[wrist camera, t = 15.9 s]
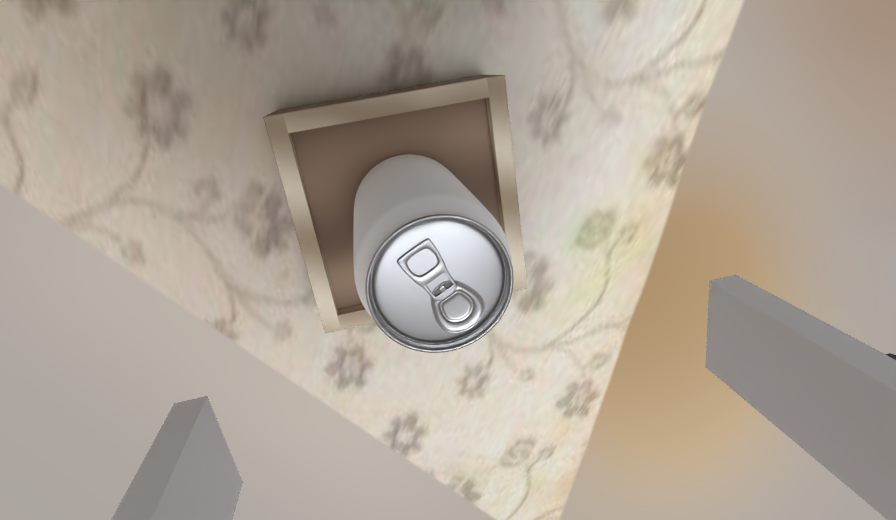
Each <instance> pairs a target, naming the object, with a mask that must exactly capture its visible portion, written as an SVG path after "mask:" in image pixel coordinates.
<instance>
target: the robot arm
mask: <svg viewBox="0 0 896 520" xmlns="http://www.w3.org/2000/svg"><path fill="white" fill-rule="evenodd" d="M706 368H707V369H709V370H710V371H711V372H712V373H713V374H715V375H716V376H717V377H718V378H720V379H721V380H722V381H723V382H724V383H726V384H727V385H728V386H729V387H730V388H731V389H732V390H734V391H735V392H736V393H737V394H738V395H740V396H741V397H742V398H743V399H744V400H746V401H747V402H748V403H749V404H750V405H751V406H753V407H754V408H755V409H756V410H758V411H759V412H760V413H761V414H762V415H763V416H765V417H766V418H767V419H768V420H769V421H771V422H772V423H773V424H774V425H775V426H776V427H778V428H779V429H780V430H781V431H782V432H784V433H785V434H786V435H787V436H788V437H790V438H791V439H792V440H793V441H794V442H795V443H797V444H798V445H799V446H800V447H801V448H803V449H804V450H805V451H806V452H807V453H809V454H810V455H811V456H812V457H813V458H815V459H816V460H817V461H818V462H819V463H821V464H822V465H823V466H824V467H825V468H826V469H828V470H829V471H830V472H831V473H832V474H834V475H835V476H836V477H837V478H838V479H840V480H841V481H842V482H843V483H844V484H845V485H847V486H848V487H849V488H850V489H851V490H853V491H854V492H855V493H856V494H857V495H859V496H860V497H861V498H862V499H863V500H865V501H866V502H867V503H868V504H870V506H872V507H873V508H874V509H875V510H876V511H878V512H879V513H880V514H881V515H882V516H884V517H885V518H886V519H887V520H896V355H893V354H890V353H889V354H883V353H882V352H880V351H878V350H876V349H874V348H872V347H870V346H868V345H866V344H865V343H863V342H861V341H859V340H857V339H855V338H853V337H851V336H850V335H848V334H846V333H844V332H842V331H840V330H838V329H836V328H835V327H833V326H831V325H829V324H827V323H825V322H823V321H821V320H819V319H818V318H816V317H814V316H812V315H810V314H808V313H806V312H805V311H803V310H801V309H799V308H797V307H795V306H793V305H791V304H789V303H788V302H786V301H784V300H782V299H780V298H778V297H776V296H774V295H773V294H771V293H769V292H767V291H765V290H763V289H761V288H759V287H757V286H756V285H754V284H752V283H750V282H748V281H746V280H744V279H743V278H740V277H739V276H737V275H733V276H728V277H724V278H720V279H715V280H711V281H710V282H709V302H708V323H707V346H706ZM241 486H242V480H241V477H240V475H239V472H238V470H237V467H236V465H235V463H234V460H233V457H232V455H231V453H230V450H229V448H228V445H227V443H226V440H225V438H224V436H223V433H222V431H221V428H220V426H219V423H218V421H217V418H216V416H215V414H214V411H213V409H212V406H211V404H210V401H209V399H208V397H207V396H205V397H201V398H197V399H192V400H187V401H183V402H179V403H174V405H173V407H172V409H171V411H170V413H169V414H168V416H167V418H166V420H165V422H164V424H163V425H162V427H161V429H160V431H159V433H158V435H157V437H156V438H155V440H154V442H153V444H152V446H151V448H150V449H149V451H148V453H147V455H146V457H145V459H144V461H143V462H142V464H141V466H140V468H139V470H138V472H137V473H136V475H135V477H134V479H133V481H132V483H131V485H130V487H129V488H128V490H127V492H126V494H125V496H124V497H123V499H122V501H121V503H120V505H119V507H118V508H117V510H116V512H115V514H114V516H113V518H112V520H232V519H233V515H234V512H235V508H236V504H237V501H238V497H239V493H240V490H241Z"/></svg>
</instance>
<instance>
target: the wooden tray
mask: <svg viewBox="0 0 896 520" xmlns="http://www.w3.org/2000/svg"><path fill="white" fill-rule="evenodd" d="M263 118H264V121H265V125H266V128H267V132H268V135H269V139H270V142H271V146H272V149H273V153H274V156H275V160H276V163H277V167H278V170H279V174H280V177H281V181H282V184H283V188H284V191H285V195H286V198H287V202H288V205H289V209H290V212H291V216H292V219H293V223H294V226H295V230H296V233H297V237H298V240H299V244H300V247H301V251H302V254H303V258H304V261H305V265H306V268H307V272H308V275H309V279H310V282H311V286H312V289H313V293H314V297H315V300H316V304H317V307H318V311H319V314H320V318H321V321H322V325H323V328H324V332H325V333H329V332H334V331H338V330H343V329H347V328H352V327H356V326H361V325H365V324H370V323H374V322H375V321H374V319H373V318H372V317H371V316H370V315H369V314H368V312H367V311H366V309H365V308H364V306H363V304H362V302H361V300H360V297H359V295H358V292H357V288H356V284H355V278H354V259H353V222H354V202H355V197H356V193H357V190H358V188H359V186H360V184H361V182H362V180H363V179H364V177H365V176H366V175H367V173H368V172H369V171H370V170H371V169H372V168H374V167H375V166H376V165H377V164H379V163H381V162H382V161H384V160H386V159H388V158H391V157H394V156H398V155H406V154H414V155H421V156H425V157H428V158H431V159H433V160H435V161H437V162H439V163H440V164H442V165H443V166H444V167H445V168H447V169H448V170H449V171H450V172H451V173H452V174H453V175H454V176H455V177H456V178H457V179H458V180H459V181H460V182H461V183H462V184H463V185H464V186H465V187H466V188H467V189H468V190H469V191H470V192H471V193H472V194H473V195H474V196H475V197H476V198H477V199H478V200H479V201H480V202H481V203H482V204H483V206H484V207H485V208H486V209H487V210H488V211H489V212H490V213H491V214H492V215H493V217H494V218H495V219H496V220H497V222H498V223H499V225H500V226H501V228H502V230H503V232H504V233H505V236H506V238H507V240H508V243H509V247H510V251H511V259H512V267H513V277H514V281H513V290H512V292H514V291H518V290H523V289H527V281H526V272H525V262H524V253H523V244H522V234H521V225H520V215H519V206H518V196H517V187H516V178H515V168H514V159H513V149H512V140H511V130H510V121H509V111H508V102H507V93H506V83H505V75H480V76H474V77H469V78H463V79H457V80H451V81H445V82H440V83H434V84H428V85H422V86H417V87H411V88H405V89H399V90H394V91H388V92H382V93H376V94H370V95H365V96H359V97H353V98H347V99H342V100H336V101H330V102H324V103H318V104H313V105H307V106H301V107H295V108H290V109H284V110H278V111H275V112H273V113H271V114H269V115H267V116H265V117H263Z"/></svg>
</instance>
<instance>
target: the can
mask: <svg viewBox="0 0 896 520" xmlns="http://www.w3.org/2000/svg"><path fill="white" fill-rule="evenodd" d="M353 259H354V278H355V284H356V288H357V292H358V295H359V297H360V300H361V302H362V304H363V306H364V308H365V309H366V311H367V312H368V314H369V315H370V316H371V317H372V318H373V319H374V321H375V322H376V324H377V325H378V326H379V328H380V329H381V330H382V331H383V332H384V333H385V334H386V335H387V336H388V337H389V338H391V339H392V340H394V341H395V342H397V343H398V344H400V345H402V346H405V347H407V348H410V349H413V350H416V351H421V352H430V353H439V352H448V351H453V350H457V349H460V348H463V347H465V346H468V345H470V344H472V343H474V342H475V341H477V340H479V339H480V338H482V337H483V336H484V335H486V334H487V333H488V332H489V331H490V330H491V329H492V328H493V327H494V326H495V325H496V324H497V323H498V321H499V320H500V319H501V317H502V316H503V314H504V312H505V310H506V308H507V306H508V304H509V301H510V298H511V295H512V290H513V281H514V277H513V267H512V259H511V251H510V247H509V243H508V240H507V238H506V236H505V233H504V232H503V230H502V228H501V226H500V225H499V223H498V222H497V220H496V219H495V218H494V217H493V215H492V214H491V213H490V212H489V211H488V210H487V209H486V208H485V207H484V206H483V204H482V203H481V202H480V201H479V200H478V199H477V198H476V197H475V196H474V195H473V194H472V193H471V192H470V191H469V190H468V189H467V188H466V187H465V186H464V185H463V184H462V183H461V182H460V181H459V180H458V179H457V178H456V177H455V176H454V175H453V174H452V173H451V172H450V171H449V170H448V169H447V168H445V167H444V166H443V165H442V164H440V163H439V162H437V161H435V160H433V159H431V158H428V157H425V156H421V155H414V154H406V155H398V156H394V157H391V158H388V159H386V160H384V161H382V162H381V163H379V164H377V165H376V166H375V167H374V168H372V169H371V170H370V171H369V172H368V173H367V175H366V176H365V177H364V179H363V180H362V182H361V184H360V186H359V188H358V190H357V193H356V197H355V202H354V222H353Z"/></svg>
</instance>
